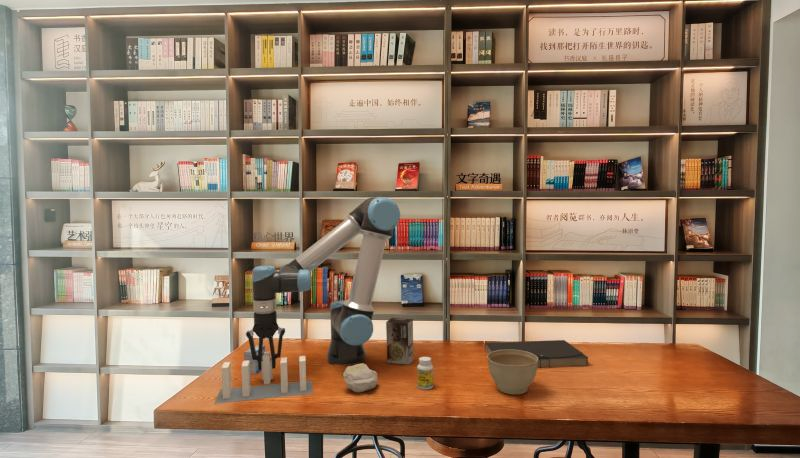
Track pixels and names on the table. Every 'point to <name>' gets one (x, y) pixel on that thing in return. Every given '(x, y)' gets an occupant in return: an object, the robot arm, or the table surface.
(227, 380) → the domino
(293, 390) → the mat
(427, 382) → the supplement bottle
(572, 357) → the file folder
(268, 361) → the domino
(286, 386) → the domino
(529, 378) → the planter bowl
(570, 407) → the table surface
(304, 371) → the domino
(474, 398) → the table surface
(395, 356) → the coffee box
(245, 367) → the domino
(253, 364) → the medicine box
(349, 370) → the fossil replica
